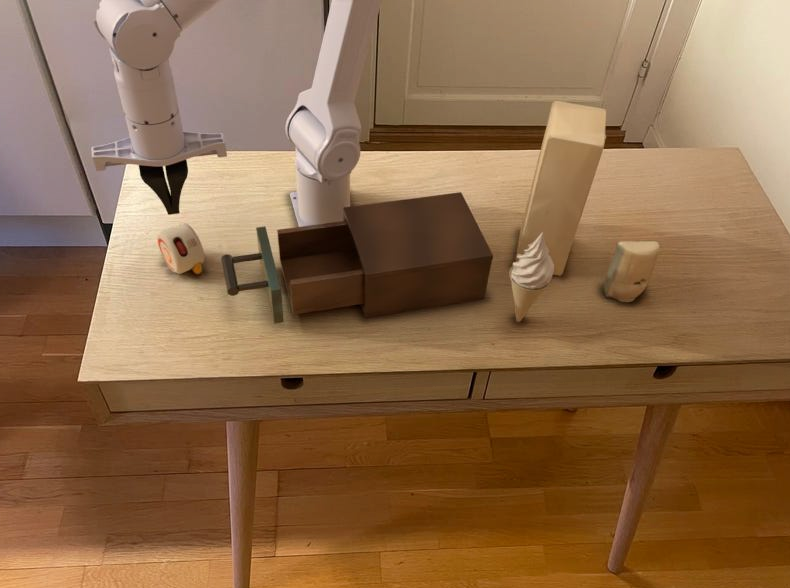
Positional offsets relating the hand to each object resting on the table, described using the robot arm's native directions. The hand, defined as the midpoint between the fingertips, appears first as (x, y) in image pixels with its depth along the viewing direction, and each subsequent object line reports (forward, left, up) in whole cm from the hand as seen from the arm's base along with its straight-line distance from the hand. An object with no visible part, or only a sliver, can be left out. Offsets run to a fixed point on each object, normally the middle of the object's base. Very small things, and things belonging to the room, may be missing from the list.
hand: (173, 209), depth 92 cm
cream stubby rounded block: (+17, +56, -10) cm, 59 cm away
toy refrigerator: (+8, +48, -10) cm, 50 cm away
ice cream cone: (+19, +40, -10) cm, 45 cm away
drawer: (+8, +15, -9) cm, 19 cm away
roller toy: (0, 0, -10) cm, 10 cm away
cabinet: (+8, +29, -9) cm, 31 cm away
